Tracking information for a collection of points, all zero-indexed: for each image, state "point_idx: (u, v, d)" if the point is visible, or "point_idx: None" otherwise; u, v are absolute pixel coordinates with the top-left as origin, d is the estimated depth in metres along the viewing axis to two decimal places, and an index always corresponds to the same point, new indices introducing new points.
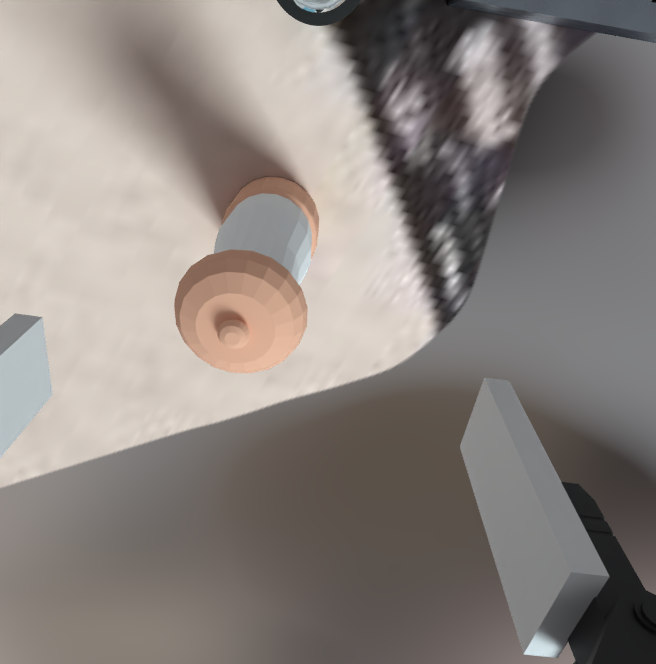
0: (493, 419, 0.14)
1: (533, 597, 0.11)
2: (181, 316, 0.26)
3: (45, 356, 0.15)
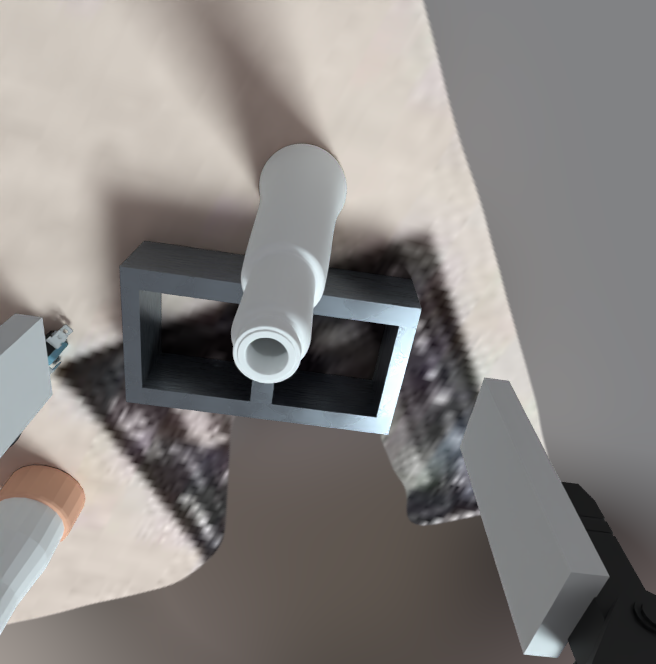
0: (493, 419, 0.14)
1: (533, 597, 0.11)
2: None
3: (46, 356, 0.15)
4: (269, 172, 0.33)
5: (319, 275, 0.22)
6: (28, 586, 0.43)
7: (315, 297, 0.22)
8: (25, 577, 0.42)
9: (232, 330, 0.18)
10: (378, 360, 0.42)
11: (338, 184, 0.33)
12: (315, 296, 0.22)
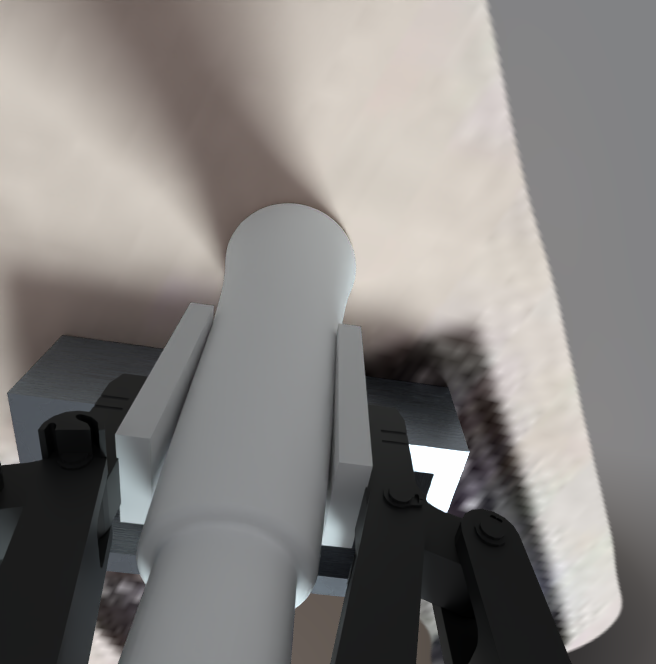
0: (336, 356, 0.16)
1: (328, 494, 0.13)
2: None
3: None
4: (236, 252, 0.21)
5: (306, 561, 0.10)
6: None
7: (298, 596, 0.10)
8: None
9: None
10: None
11: (344, 270, 0.21)
12: (298, 595, 0.10)
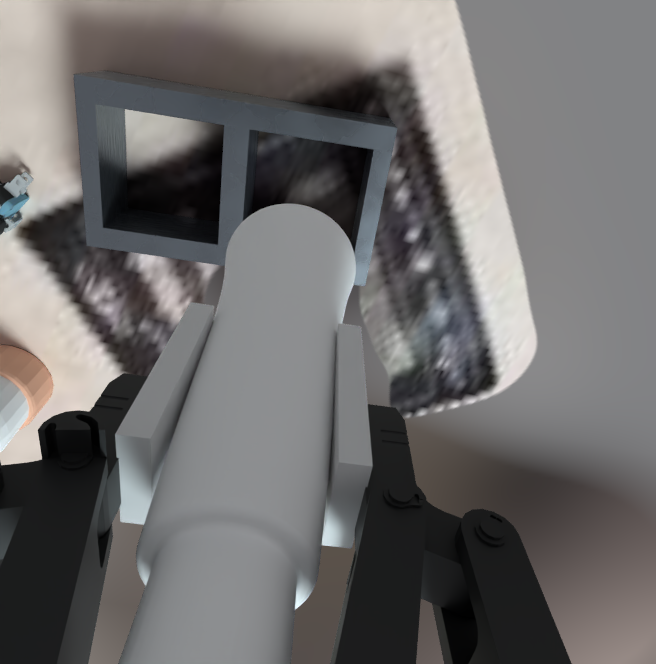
0: (336, 356, 0.16)
1: (328, 494, 0.13)
2: None
3: None
4: (236, 253, 0.21)
5: (306, 562, 0.10)
6: None
7: (298, 597, 0.10)
8: None
9: None
10: (356, 214, 0.40)
11: (344, 270, 0.21)
12: (298, 596, 0.10)
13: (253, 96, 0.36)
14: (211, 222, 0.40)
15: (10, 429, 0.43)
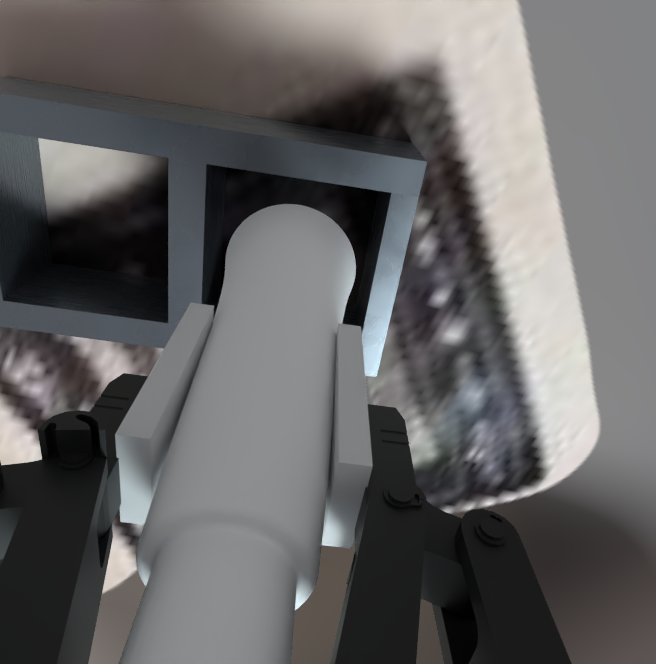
0: (336, 356, 0.16)
1: (328, 494, 0.13)
2: None
3: None
4: (236, 253, 0.21)
5: (306, 563, 0.10)
6: None
7: (298, 597, 0.10)
8: None
9: None
10: (363, 273, 0.29)
11: (343, 270, 0.21)
12: (298, 596, 0.10)
13: (217, 113, 0.25)
14: (165, 282, 0.30)
15: None
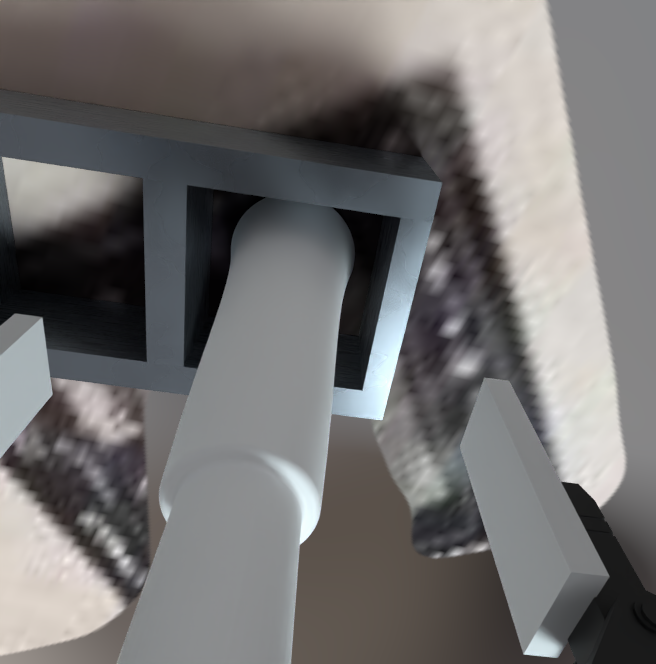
0: (493, 419, 0.14)
1: (533, 597, 0.11)
2: None
3: (46, 356, 0.15)
4: (241, 239, 0.22)
5: (309, 499, 0.11)
6: None
7: (302, 532, 0.12)
8: None
9: None
10: (367, 301, 0.26)
11: (343, 255, 0.23)
12: (302, 530, 0.12)
13: (201, 124, 0.22)
14: None
15: None
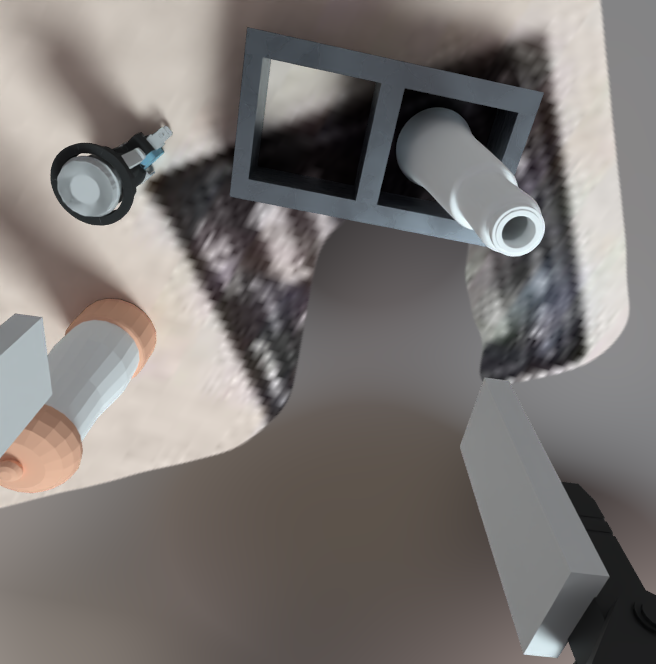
0: (493, 418, 0.14)
1: (533, 597, 0.11)
2: None
3: (45, 356, 0.15)
4: (417, 128, 0.38)
5: None
6: (111, 398, 0.42)
7: None
8: (109, 386, 0.41)
9: (483, 215, 0.23)
10: None
11: None
12: None
13: None
14: (337, 183, 0.42)
15: (128, 377, 0.44)
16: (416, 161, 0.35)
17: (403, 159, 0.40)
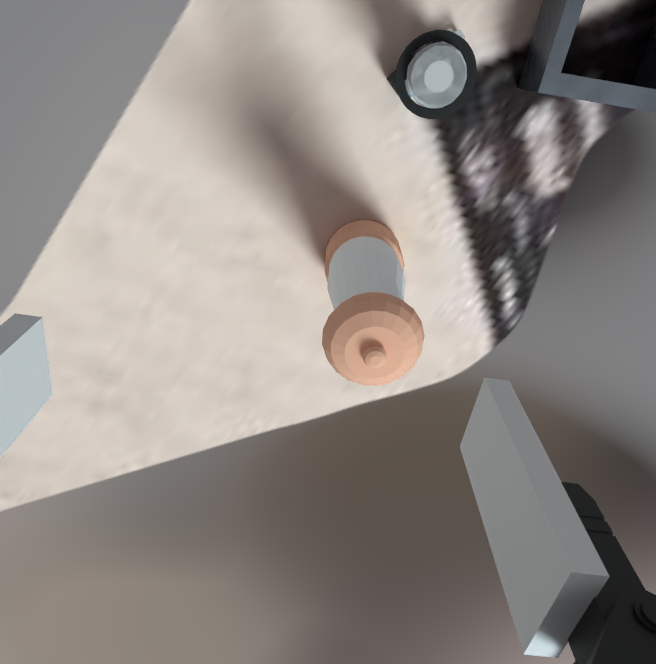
0: (493, 418, 0.14)
1: (533, 597, 0.11)
2: (332, 343, 0.34)
3: (45, 356, 0.15)
4: None
5: None
6: None
7: None
8: (403, 293, 0.42)
9: None
10: None
11: None
12: None
13: None
14: None
15: None
16: None
17: None
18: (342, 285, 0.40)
